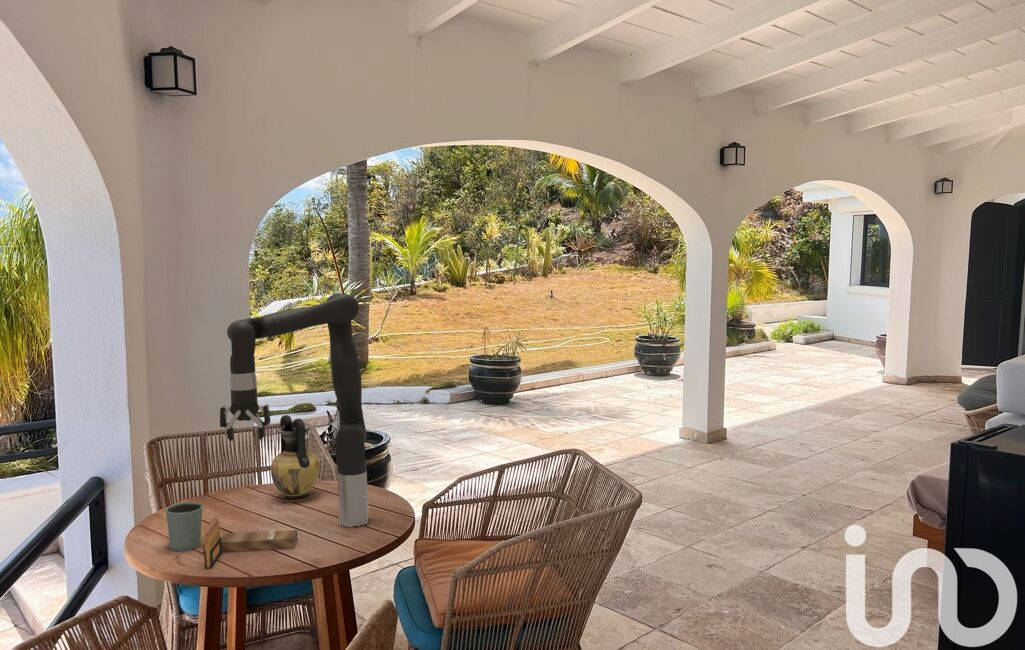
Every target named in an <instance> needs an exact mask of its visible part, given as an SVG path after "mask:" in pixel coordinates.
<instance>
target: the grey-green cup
mask: <svg viewBox="0 0 1025 650" xmlns="http://www.w3.org/2000/svg"><path fill="white" fill-rule="evenodd" d="M203 506H204V505H203V504H202V503H200V502H196V501H195V502H193V501H186V502H185V501H184V502H180V503H175V504H172V505H170V506H167V508H165V514H166V521H167V522H166V524H167V529H168V540H169V548H171V549H172V550H171V549H170V550H171V551H173V550H177V551H176V552H184V550H186V551H189V549H191V550H194V549H196V548H198V547H199V546H200V545H201V541H202V521H203V516H202V515H203ZM197 546H198V547H197ZM195 547H196V548H195ZM193 548H194V549H193Z"/></svg>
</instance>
